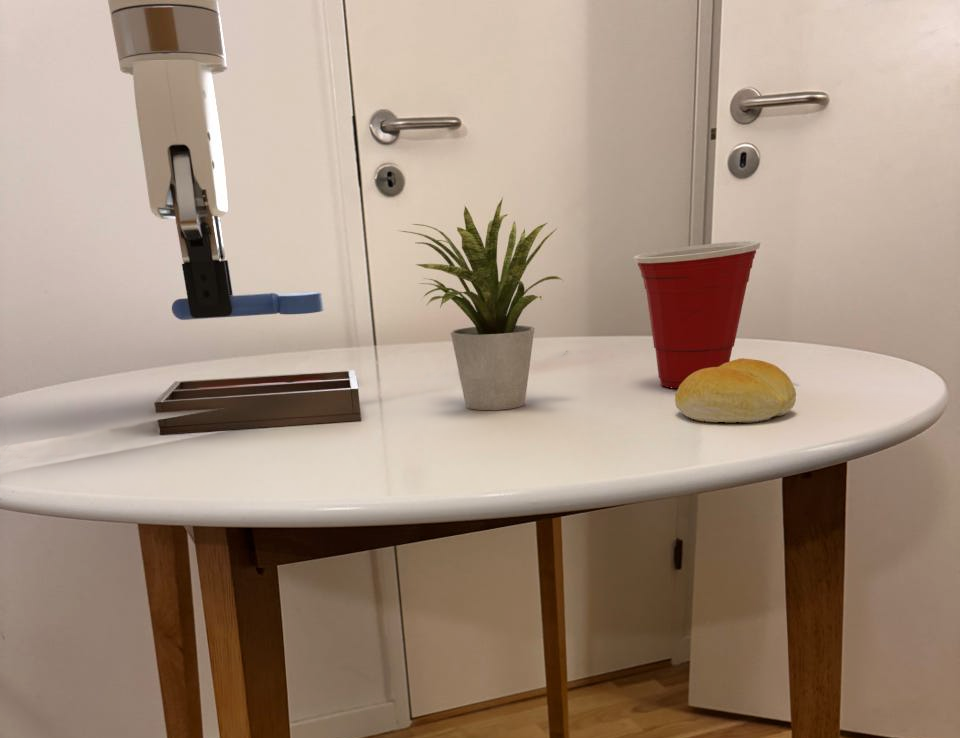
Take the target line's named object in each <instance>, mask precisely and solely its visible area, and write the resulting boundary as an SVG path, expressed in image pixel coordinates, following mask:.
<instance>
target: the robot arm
mask: <svg viewBox="0 0 960 738" xmlns="http://www.w3.org/2000/svg"><path fill="white" fill-rule="evenodd" d="M107 2H108V8H109V14H110V19H111V25H112V30H113V31H112V32H113V37H114V41H115V47H116V54H117V59H118V64H119V69H120V72H122V73H123V74H126V75H131V76H132V78H133V80H132V81H133V90H134V100H135V107H136V108H135V110H136V117H137V125H138V133H139V140H140V146H141V153H142V160H143V166H144V173H145V174H144V175H145V181H146V187H147V195H148V201H149V202H148V203H149V208H150V211H151V213H152V214H153V215H154V216H155V217H156V218H158V219H160V220H175V225H176V230H177V237H178V242H179V246H180V247H179V248H180V253H181V259H182V263H181V267H182V268H181V269H182V273H183V279H184V286H185V291H186V292H185V293H186V297H187V298H188V304H189V310H190V314H191V316H192V317H193V318H206V317H221V316H229V315H231V313H232V306H231V299H230V296H232V295H234V293H233V287H232V280H231V279H232V278H231V274H230V268H229V267H230V266H229V261H228V260H227V259H226V253H225V246H224V240H223V239H224V238H223V233H222V226H221V219H220V217H223V216H225V215H226V214H227V212H228V211H229V204H228V203H229V202H228V190H227V178H226V168H225V160H224V159H225V158H224V151H223V144H222V143H223V142H222V135H221V129H220V121H219V114H218V110H217V109H218V107H217V101H216V95H215V93H216V92H215V87H214V81H213V75H217V74H220V73H224V72H225V71H228V65H227V57H226V51H225V50H226V49H225V43H224V36H223V29H222V28H223V27H222V21H221V16H220V15H221V14H220V8H219V6H220V5H219V1H218V0H107ZM221 318H222V317H221ZM206 319H207V318H206Z"/></svg>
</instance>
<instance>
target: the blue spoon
mask: <svg viewBox="0 0 960 738" xmlns="http://www.w3.org/2000/svg"><path fill="white" fill-rule="evenodd" d="M322 294H323V293H322V292H320V291H304V292H303V291H302V292H289V293H288V292H287V293H281V294H280V293H279V294H278V293H276V292H264V293H251V294H250V293H249V294H235V295H234V294H233V295H232V296H230V299H231V306H232V313H231V315H229V316H221V317H206V318H193V317H192V316H191V314H190V310H189V304H188V298H184V297H183V298H178V299H176V300H174V301H173V302H172V305H171V312H172V314H173V316H174V317H175V318H176V319H178V320H180V321H190V320H203V319H219V318H234V317H248V316H249V317H251V316H263V315H266V316H267V315H276V314H280V315H305V314H315V313H320V312H321V313H322V312H324V302H323V295H322Z"/></svg>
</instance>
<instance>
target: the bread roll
mask: <svg viewBox="0 0 960 738" xmlns="http://www.w3.org/2000/svg"><path fill="white" fill-rule="evenodd" d="M674 397H675V398H674V402H675V403H674V404H675V407H676V409H677V410H678V411H679V412H680V413H681V414H682V415H683V416H685V417H687V418H688V417H689V418H688V419H690V418H691V419H690V420H693V419H694V421H699V422H704V421H705V422H706V423H718V422H725V423H724V424H728V423H729V424H731V423H732V424H734V423H736V422H739V423H742V422H743V423H744V424H745V423H746V424H747V423H760V422H762V421H764V420H765V421H767V420H771V418H773V417H780V416H784V415H786V414H787V413H788V412H790V411H791V410H792V409H793V407H794V406H795V404H796V401H797V391H796V388H795V386H794V383H793V382H792V380H791V378H790V377H789V375H787V373H786V372H785V371H784V370H782V369H781V368H780V367H778V365H776V364H773V363H770V362H767V361H764V360H760V359H753V358H745V357H744V358H743V357H742V358H741V357H740V358H737V359H733V360H730V361H729V362H726V363H724V364H722V365H721V366H719V367H711V368H704V369H701V370H698V371H696V372H694V373H692V374H691V375H689V376H688V377H687V378H686V379H685V380H684V381H683V382H682V383H681V384H680V386H679V388H678V389H676V392H675V396H674ZM759 421H760V422H759ZM736 424H737V423H736Z"/></svg>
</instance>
